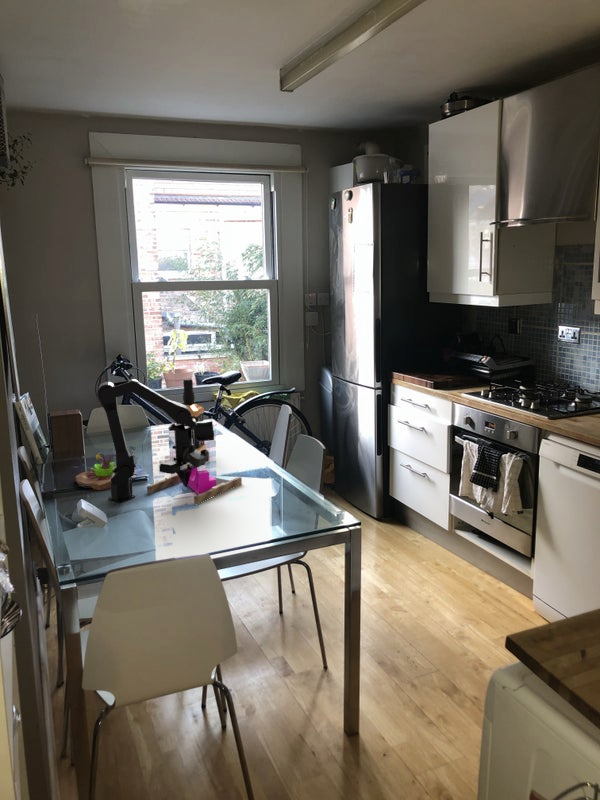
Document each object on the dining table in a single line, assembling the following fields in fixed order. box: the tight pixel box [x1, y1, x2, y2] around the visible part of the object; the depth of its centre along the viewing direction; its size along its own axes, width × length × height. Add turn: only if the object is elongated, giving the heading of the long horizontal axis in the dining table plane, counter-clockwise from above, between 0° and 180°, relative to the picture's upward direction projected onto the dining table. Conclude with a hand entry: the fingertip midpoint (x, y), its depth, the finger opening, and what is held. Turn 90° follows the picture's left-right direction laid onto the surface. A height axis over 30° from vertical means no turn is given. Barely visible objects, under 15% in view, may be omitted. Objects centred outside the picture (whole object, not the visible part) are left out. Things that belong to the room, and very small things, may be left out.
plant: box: [75, 452, 137, 491], centre depth 236 cm, size 20×20×11 cm
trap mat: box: [212, 476, 230, 485], centre depth 234 cm, size 6×19×1 cm, turn 58°
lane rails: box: [146, 473, 243, 505], centre depth 226 cm, size 24×23×3 cm
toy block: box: [187, 467, 216, 495], centre depth 227 cm, size 15×6×8 cm, turn 28°
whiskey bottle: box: [175, 378, 207, 452], centre depth 264 cm, size 10×10×32 cm
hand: (185, 486), depth 221 cm, fingers closed
